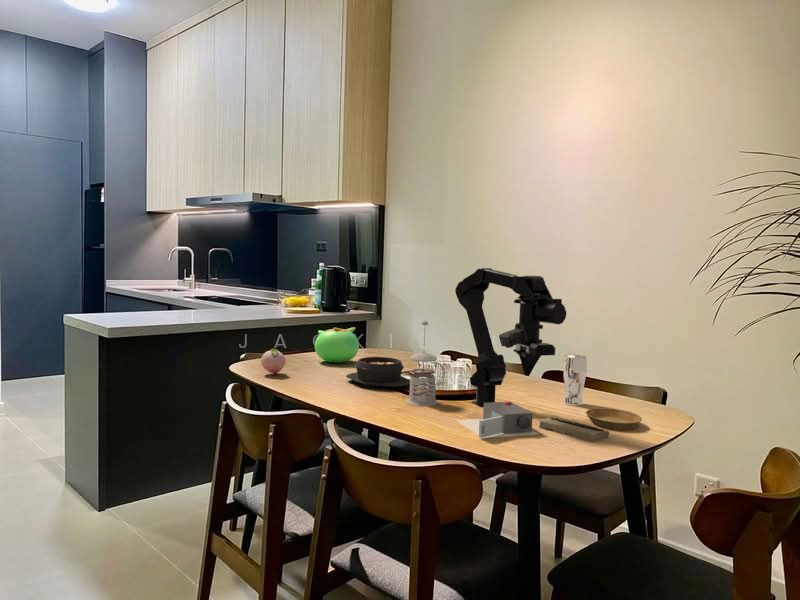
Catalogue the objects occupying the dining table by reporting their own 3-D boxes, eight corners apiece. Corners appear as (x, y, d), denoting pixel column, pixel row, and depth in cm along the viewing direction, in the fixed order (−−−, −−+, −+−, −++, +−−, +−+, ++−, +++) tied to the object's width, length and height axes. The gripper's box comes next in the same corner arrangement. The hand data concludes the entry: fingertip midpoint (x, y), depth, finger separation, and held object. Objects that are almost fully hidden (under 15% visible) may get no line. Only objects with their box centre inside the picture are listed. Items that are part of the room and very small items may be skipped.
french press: (402, 398, 185) (405, 319, 183) (438, 398, 187) (441, 319, 185) (409, 406, 175) (412, 322, 173) (447, 405, 178) (450, 323, 176)
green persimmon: (313, 365, 235) (314, 328, 233) (315, 358, 251) (316, 323, 250) (358, 366, 236) (359, 329, 235) (358, 359, 253) (359, 324, 252)
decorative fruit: (258, 372, 217) (259, 345, 216) (280, 371, 220) (281, 345, 219) (264, 377, 208) (264, 349, 208) (287, 376, 212) (287, 349, 211)
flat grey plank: (609, 439, 151) (610, 426, 151) (595, 445, 145) (595, 432, 145) (554, 425, 162) (554, 413, 162) (538, 431, 156) (539, 418, 156)
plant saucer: (650, 425, 164) (651, 416, 164) (626, 435, 154) (626, 425, 154) (601, 414, 175) (601, 405, 175) (575, 422, 165) (575, 413, 165)
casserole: (333, 382, 205) (334, 358, 204) (368, 375, 220) (369, 352, 219) (390, 394, 190) (391, 368, 189) (423, 385, 205) (424, 361, 204)
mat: (456, 421, 161) (456, 420, 161) (508, 418, 166) (508, 417, 166) (481, 439, 146) (481, 437, 145) (539, 435, 150) (539, 434, 150)
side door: (482, 438, 144) (483, 421, 143) (478, 437, 145) (478, 420, 144) (505, 433, 149) (506, 416, 148) (501, 431, 150) (501, 415, 150)
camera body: (482, 420, 161) (483, 400, 160) (509, 419, 163) (510, 399, 163) (505, 435, 148) (506, 413, 148) (534, 433, 151) (535, 411, 150)
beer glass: (578, 407, 181) (581, 359, 180) (557, 403, 186) (560, 355, 185) (588, 404, 186) (591, 356, 185) (568, 399, 191) (570, 353, 190)
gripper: (488, 317, 171) (486, 370, 173) (520, 324, 154) (517, 383, 155) (522, 317, 175) (520, 369, 176) (557, 324, 157) (554, 382, 158)
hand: (526, 375), depth 166 cm, fingers closed
